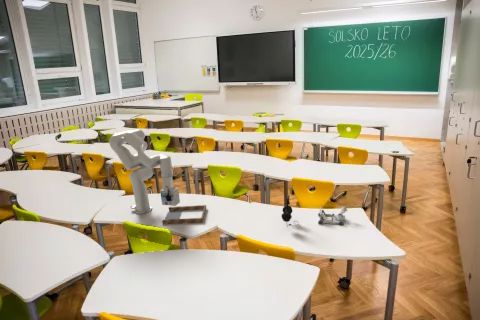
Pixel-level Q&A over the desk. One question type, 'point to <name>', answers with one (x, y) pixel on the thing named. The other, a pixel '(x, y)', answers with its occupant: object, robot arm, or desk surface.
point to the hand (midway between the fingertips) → (170, 198)
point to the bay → (174, 216)
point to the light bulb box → (174, 197)
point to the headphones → (287, 212)
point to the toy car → (332, 217)
